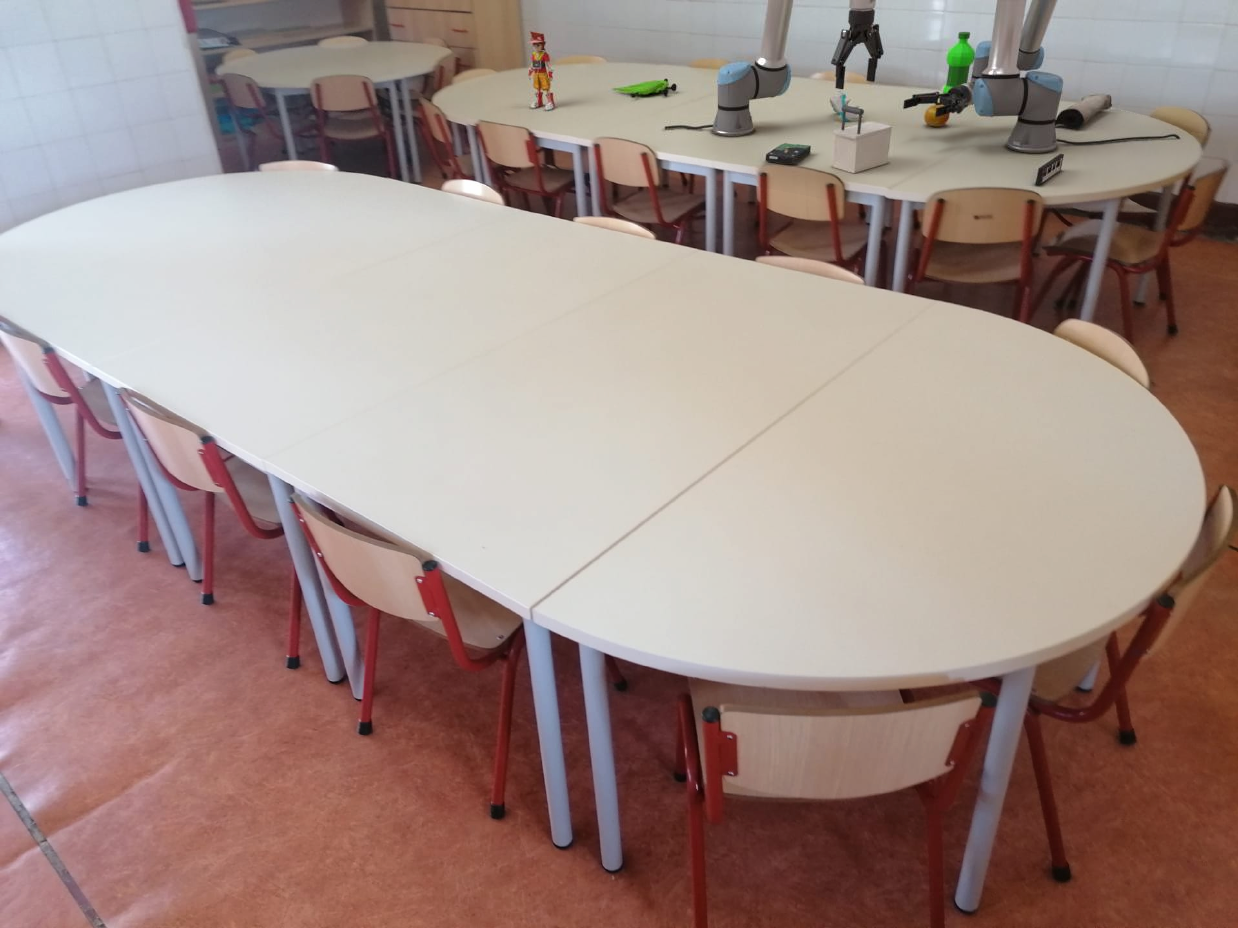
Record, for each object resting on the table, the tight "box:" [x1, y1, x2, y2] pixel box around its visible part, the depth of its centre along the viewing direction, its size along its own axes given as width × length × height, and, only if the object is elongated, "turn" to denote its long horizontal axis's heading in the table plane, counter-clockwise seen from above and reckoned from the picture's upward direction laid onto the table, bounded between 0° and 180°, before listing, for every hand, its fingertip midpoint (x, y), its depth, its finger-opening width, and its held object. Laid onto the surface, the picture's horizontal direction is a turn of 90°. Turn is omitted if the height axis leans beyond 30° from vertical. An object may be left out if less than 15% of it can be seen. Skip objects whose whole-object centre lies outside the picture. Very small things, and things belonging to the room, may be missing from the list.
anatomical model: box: [829, 90, 864, 122], centre depth 342 cm, size 15×10×10 cm
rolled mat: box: [1055, 93, 1113, 130], centre depth 324 cm, size 30×9×10 cm
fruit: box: [923, 104, 950, 127], centre depth 326 cm, size 8×8×8 cm
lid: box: [833, 105, 893, 140], centre depth 286 cm, size 16×9×9 cm, turn 124°
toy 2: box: [612, 78, 677, 99], centre depth 396 cm, size 28×5×30 cm
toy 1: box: [527, 31, 556, 111], centre depth 374 cm, size 12×9×30 cm
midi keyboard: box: [1035, 153, 1065, 186], centre depth 273 cm, size 18×1×5 cm, turn 138°
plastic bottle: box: [942, 31, 976, 94], centre depth 348 cm, size 10×10×25 cm
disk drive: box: [765, 142, 812, 165], centre depth 304 cm, size 10×3×15 cm
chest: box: [832, 129, 892, 174], centre depth 292 cm, size 16×9×11 cm, turn 124°
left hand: (855, 85), depth 278 cm, fingers open, 13 cm apart
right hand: (920, 108), depth 300 cm, fingers open, 13 cm apart
